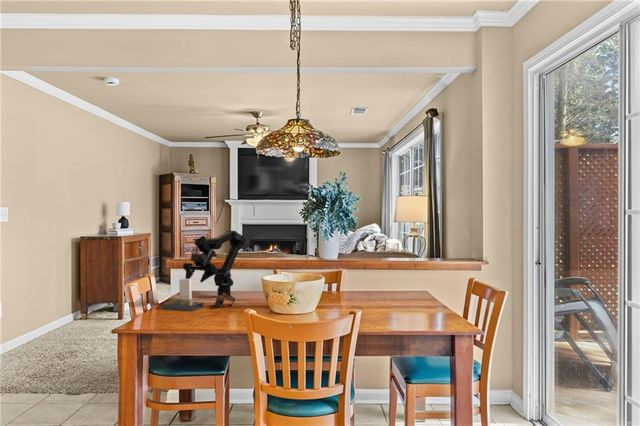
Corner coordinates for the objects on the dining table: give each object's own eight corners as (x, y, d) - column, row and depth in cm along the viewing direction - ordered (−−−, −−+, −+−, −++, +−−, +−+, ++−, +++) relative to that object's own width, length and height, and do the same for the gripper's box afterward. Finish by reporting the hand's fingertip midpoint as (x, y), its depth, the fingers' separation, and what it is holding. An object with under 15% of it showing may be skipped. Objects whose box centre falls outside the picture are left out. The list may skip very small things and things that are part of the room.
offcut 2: (182, 308, 229) (182, 298, 229) (192, 309, 227) (192, 298, 227) (179, 309, 227) (179, 299, 227) (189, 310, 225) (189, 299, 225)
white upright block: (181, 306, 234) (181, 278, 233) (191, 307, 231) (191, 279, 231) (179, 307, 232) (179, 279, 232) (189, 308, 230) (189, 279, 230)
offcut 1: (172, 307, 231) (171, 297, 231) (181, 308, 229) (181, 298, 229) (169, 308, 229) (169, 298, 229) (178, 309, 227) (178, 298, 227)
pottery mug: (217, 306, 239) (225, 292, 240) (231, 315, 236) (240, 301, 237) (207, 305, 228) (215, 290, 229) (222, 314, 225) (231, 299, 226)
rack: (175, 306, 238) (175, 299, 238) (204, 308, 231) (204, 302, 231) (161, 310, 228) (161, 303, 228) (191, 313, 222) (191, 306, 222)
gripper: (184, 247, 246) (170, 271, 236) (214, 248, 239) (201, 272, 229) (194, 261, 253) (181, 284, 243) (223, 262, 246) (211, 286, 236)
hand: (193, 281), depth 237 cm, fingers open, 9 cm apart
